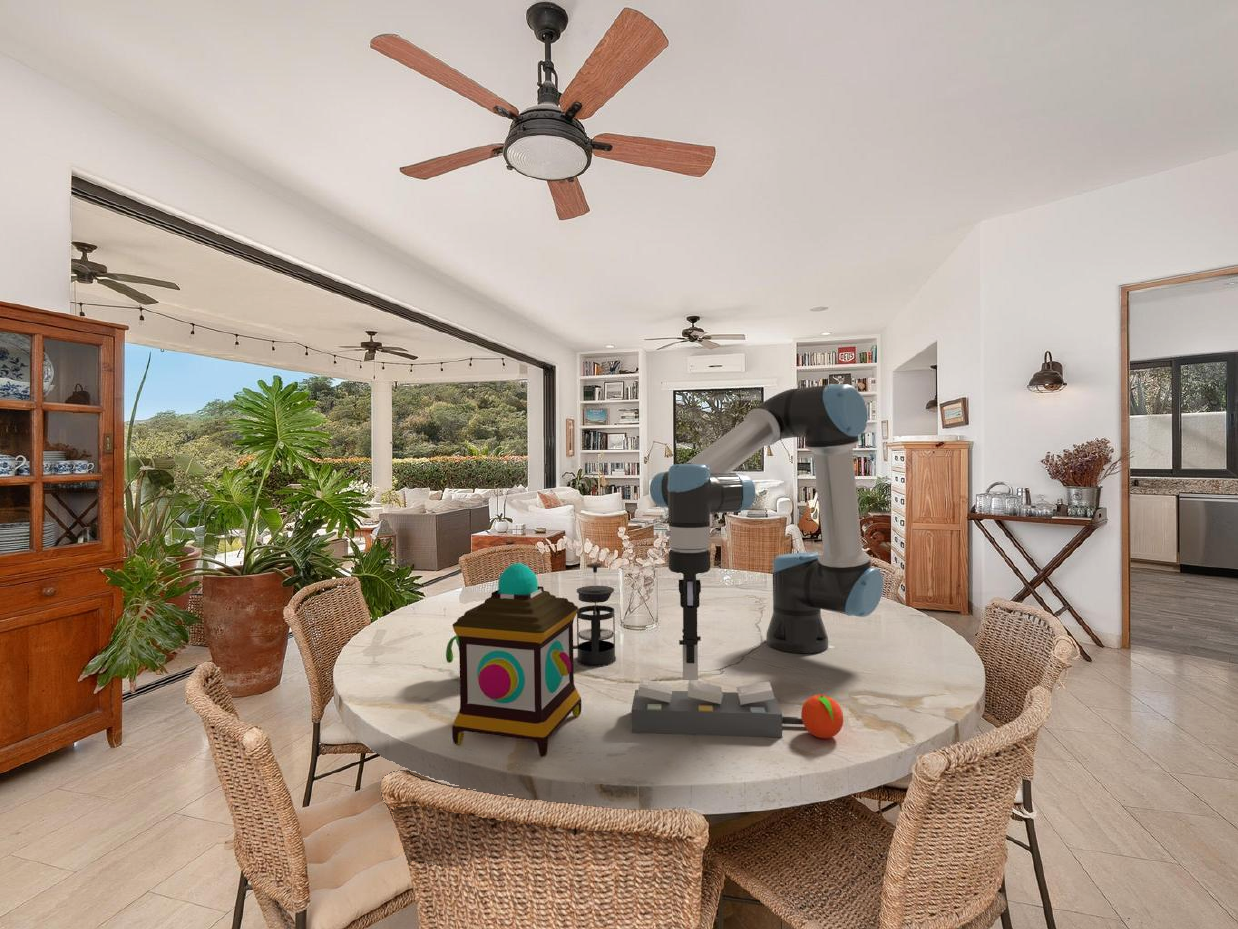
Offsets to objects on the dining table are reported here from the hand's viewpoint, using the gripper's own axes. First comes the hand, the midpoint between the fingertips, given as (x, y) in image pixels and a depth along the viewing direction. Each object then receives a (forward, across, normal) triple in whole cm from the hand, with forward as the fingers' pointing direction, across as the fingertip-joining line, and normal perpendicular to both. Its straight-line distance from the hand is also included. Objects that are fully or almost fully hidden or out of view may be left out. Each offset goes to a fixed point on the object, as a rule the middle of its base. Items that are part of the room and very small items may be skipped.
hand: (690, 678), depth 110 cm
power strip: (+8, 0, +6) cm, 10 cm away
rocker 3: (+2, 0, +12) cm, 12 cm away
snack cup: (+9, -18, -45) cm, 50 cm away
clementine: (+8, +4, +23) cm, 24 cm away
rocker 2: (+2, 0, +3) cm, 3 cm away
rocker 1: (+2, 0, -6) cm, 7 cm away
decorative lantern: (+9, +5, -30) cm, 32 cm away
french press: (+8, -32, -22) cm, 40 cm away
